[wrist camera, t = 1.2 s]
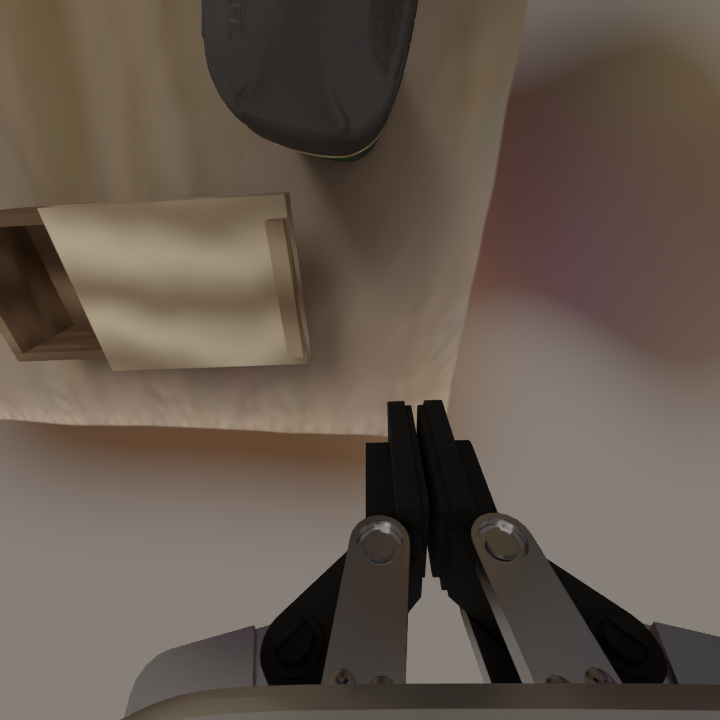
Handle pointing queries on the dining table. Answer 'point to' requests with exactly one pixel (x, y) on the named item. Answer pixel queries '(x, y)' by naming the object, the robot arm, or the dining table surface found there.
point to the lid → (187, 280)
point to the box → (39, 294)
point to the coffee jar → (310, 68)
